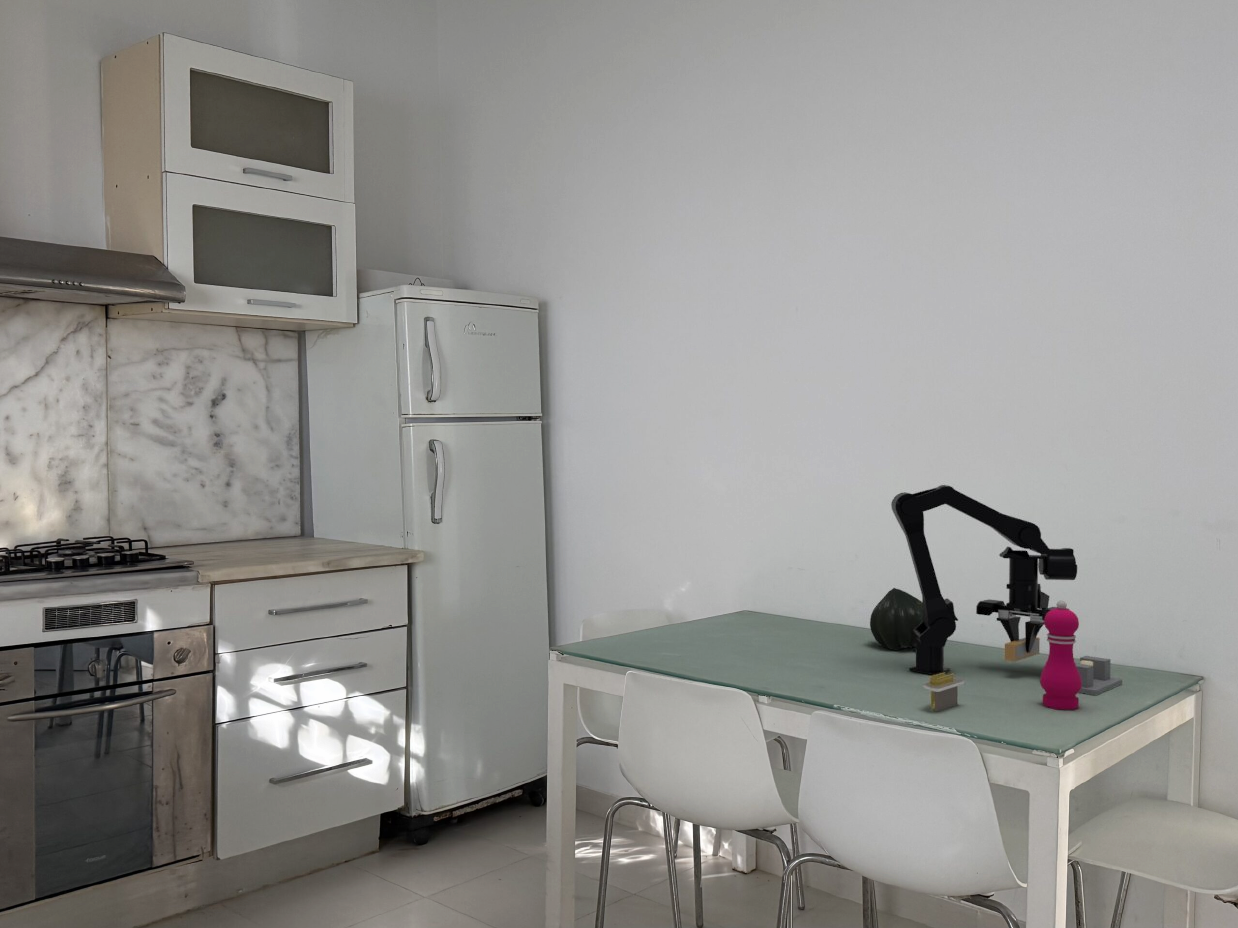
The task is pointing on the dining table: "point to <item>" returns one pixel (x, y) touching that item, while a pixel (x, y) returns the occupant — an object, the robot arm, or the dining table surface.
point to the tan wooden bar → (1020, 649)
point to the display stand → (1096, 675)
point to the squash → (896, 620)
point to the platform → (943, 691)
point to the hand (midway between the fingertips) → (1022, 651)
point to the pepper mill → (1061, 660)
